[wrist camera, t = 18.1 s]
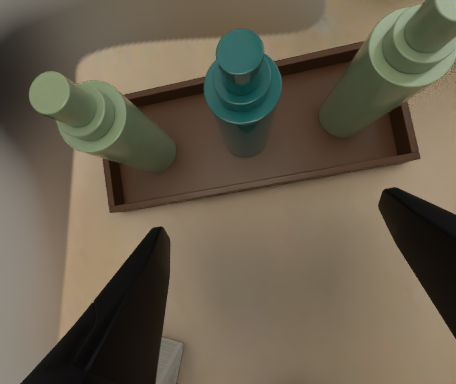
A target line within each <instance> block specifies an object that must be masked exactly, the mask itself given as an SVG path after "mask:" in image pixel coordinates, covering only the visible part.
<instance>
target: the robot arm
mask: <svg viewBox="0 0 456 384" xmlns="http://www.w3.org/2000/svg"><path fill="white" fill-rule="evenodd" d="M378 207H379V210H380V212H381V214H382V217H383V219H384V221H385V223H386V225H387V227H388V229H389V231H390V233H391V235H392V237H393V239H394V241H395V243H396V245H397V246H398V248H399V250H400V251H401V253H402V254H403V256H404V258H405V259H406V261H407V262H408V264H409V266H410V267H411V269H412V270H413V272H414V273H415V275H416V277H417V278H418V280H419V281H420V283H421V285H422V286H423V288H424V289H425V291H426V293H427V294H428V296H429V297H430V299H431V300H432V302H433V304H434V305H435V307H436V308H437V310H438V312H439V313H440V315H441V316H442V318H443V319H444V321H445V323H446V324H447V326H448V327H449V329H450V331H451V332H452V334H453V335H454V337H455V338H456V215H455V214H453V213H451V212H449V211H447V210H444V209H442V208H440V207H438V206H436V205H434V204H431V203H429V202H427V201H425V200H423V199H421V198H418V197H416V196H414V195H412V194H410V193H407V192H405V191H403V190H401V189H399V188H395V187H394V188H388V189H384V190H383V192H382V195H381V198H380V201H379V204H378ZM169 278H170V238H169V236H168V235H167V233H166V231H165V229H164V228H163V227H161V226H160V227H154V228H152V229H151V230H150V232H149V233H148V234H147V235H146V237H145V238H144V239H143V240H142V242H141V243H140V244H139V245H138V246H137V248H136V249H135V250H134V251H133V253H132V254H131V255H130V256H129V258H128V259H127V260H126V261H125V263H124V264H123V265H122V266H121V268H120V269H119V270H118V271H117V273H116V274H115V275H114V276H113V278H112V279H111V280H110V281H109V283H108V284H107V285H106V286H105V288H104V289H103V290H102V291H101V293H100V294H99V295H98V296H97V298H96V299H95V300H94V303H92V304H91V305H90V306H89V307H88V309H87V310H86V311H85V312H84V314H83V315H82V316H81V317H80V318H79V320H78V321H77V322H76V323H75V324H74V326H73V327H72V328H71V329H70V330H69V331H68V332H67V333H66V335H65V336H64V337H63V338H62V339H61V340H60V341H59V342H58V343H57V345H56V346H55V347H54V348H53V349H52V350H51V351H50V352H49V353H48V354H47V355H46V357H45V358H44V359H43V360H42V361H41V362H40V363H39V364H38V365H37V367H35V369H34V370H33V371H32V372H31V373H30V374H29V375H28V376H27V377H26V378H25V379H24V380H23V381H22V383H20V384H156V377H157V369H158V361H159V354H160V346H161V339H162V331H163V324H164V316H165V309H166V301H167V294H168V286H169Z"/></svg>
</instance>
